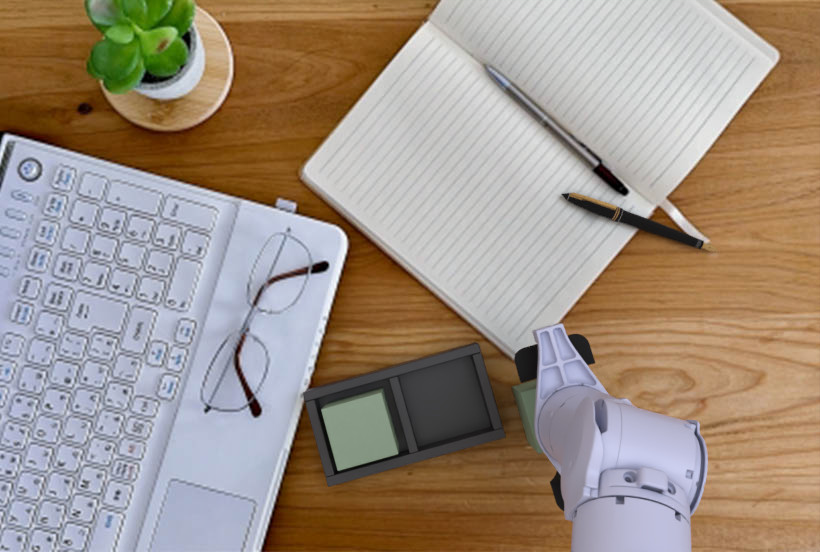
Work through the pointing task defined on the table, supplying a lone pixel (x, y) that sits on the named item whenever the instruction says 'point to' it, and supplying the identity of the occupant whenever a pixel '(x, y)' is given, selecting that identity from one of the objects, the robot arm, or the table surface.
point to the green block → (527, 410)
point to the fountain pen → (634, 220)
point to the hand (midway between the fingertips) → (555, 411)
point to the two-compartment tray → (403, 414)
